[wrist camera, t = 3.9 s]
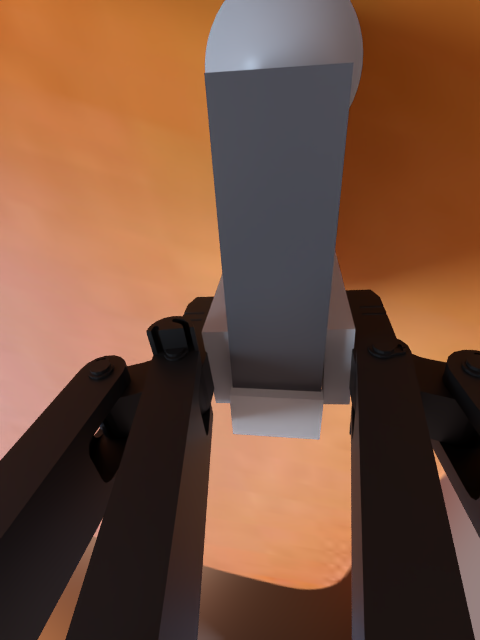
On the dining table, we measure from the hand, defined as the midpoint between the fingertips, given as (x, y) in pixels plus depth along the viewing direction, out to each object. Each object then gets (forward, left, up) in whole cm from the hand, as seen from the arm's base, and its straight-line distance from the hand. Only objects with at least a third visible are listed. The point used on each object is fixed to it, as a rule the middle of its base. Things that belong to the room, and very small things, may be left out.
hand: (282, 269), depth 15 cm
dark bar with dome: (-3, 0, -1) cm, 4 cm away
